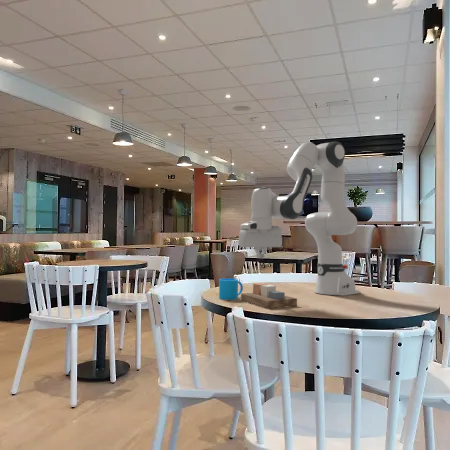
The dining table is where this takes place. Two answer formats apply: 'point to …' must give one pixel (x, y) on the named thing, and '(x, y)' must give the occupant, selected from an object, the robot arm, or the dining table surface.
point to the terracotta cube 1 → (257, 288)
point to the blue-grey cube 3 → (276, 295)
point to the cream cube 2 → (267, 290)
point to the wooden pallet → (268, 301)
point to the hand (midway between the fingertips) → (260, 258)
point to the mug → (229, 289)
